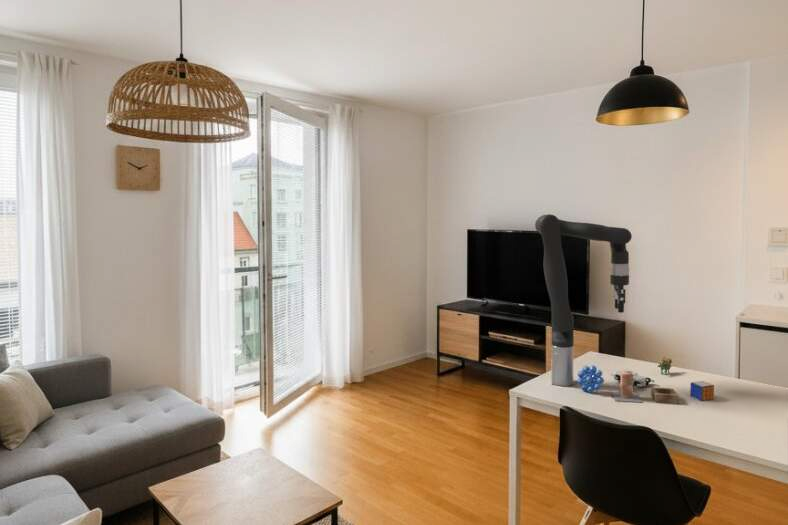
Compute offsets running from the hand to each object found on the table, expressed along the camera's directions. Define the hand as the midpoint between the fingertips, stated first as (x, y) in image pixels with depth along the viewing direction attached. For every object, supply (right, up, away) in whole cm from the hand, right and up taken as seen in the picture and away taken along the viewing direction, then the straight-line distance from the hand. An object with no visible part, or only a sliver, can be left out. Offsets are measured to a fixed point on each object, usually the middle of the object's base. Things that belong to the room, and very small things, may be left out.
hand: (619, 310), depth 227 cm
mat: (-4, -34, -16) cm, 38 cm away
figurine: (+26, -31, +11) cm, 42 cm away
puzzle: (+25, -34, -18) cm, 46 cm away
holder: (+10, -34, -19) cm, 40 cm away
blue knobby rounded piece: (-16, -34, -9) cm, 38 cm away
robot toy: (+6, -33, +1) cm, 33 cm away
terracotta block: (-4, -34, -16) cm, 37 cm away
